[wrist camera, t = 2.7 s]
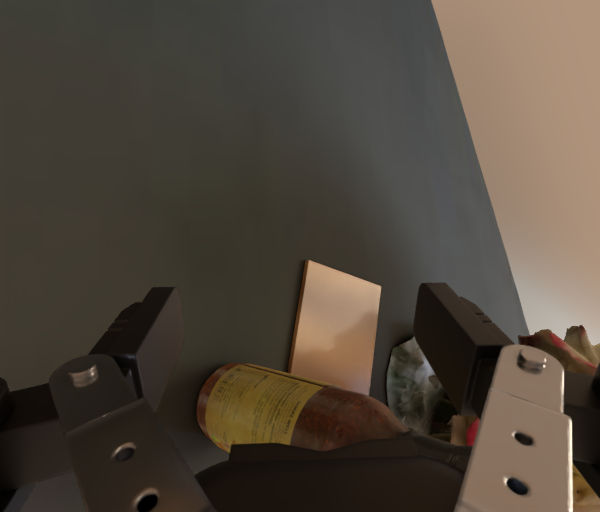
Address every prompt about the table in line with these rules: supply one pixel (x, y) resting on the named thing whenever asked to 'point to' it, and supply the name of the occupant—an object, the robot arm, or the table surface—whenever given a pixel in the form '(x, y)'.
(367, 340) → the flat copper plate
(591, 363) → the rose bouquet
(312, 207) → the table surface
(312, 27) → the table surface
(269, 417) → the sauce bottle
